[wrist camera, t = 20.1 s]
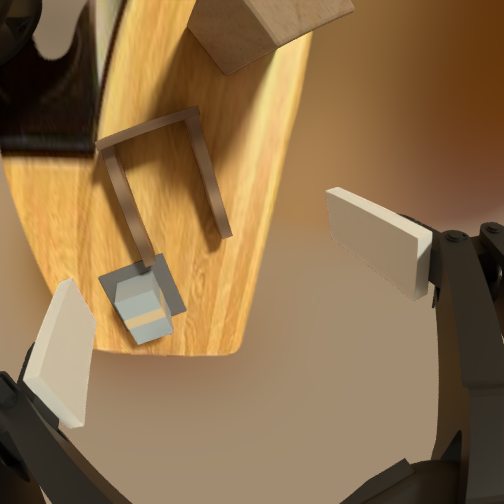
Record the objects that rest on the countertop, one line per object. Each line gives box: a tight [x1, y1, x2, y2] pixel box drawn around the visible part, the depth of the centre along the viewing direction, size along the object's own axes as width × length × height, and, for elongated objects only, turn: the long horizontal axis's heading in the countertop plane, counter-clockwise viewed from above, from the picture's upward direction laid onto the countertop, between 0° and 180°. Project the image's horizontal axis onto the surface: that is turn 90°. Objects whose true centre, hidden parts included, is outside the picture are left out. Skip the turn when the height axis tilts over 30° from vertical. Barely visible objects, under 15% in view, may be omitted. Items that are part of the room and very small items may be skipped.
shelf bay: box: [95, 106, 233, 267], centre depth 40 cm, size 18×13×6 cm
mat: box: [99, 253, 187, 331], centre depth 48 cm, size 11×11×1 cm
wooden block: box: [187, 0, 355, 76], centre depth 28 cm, size 10×10×20 cm
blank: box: [114, 271, 174, 345], centre depth 46 cm, size 8×6×6 cm
